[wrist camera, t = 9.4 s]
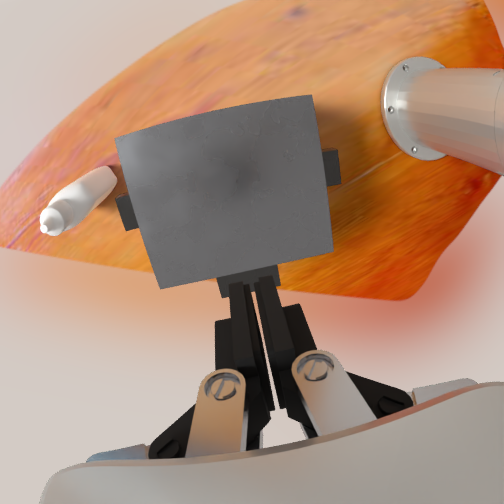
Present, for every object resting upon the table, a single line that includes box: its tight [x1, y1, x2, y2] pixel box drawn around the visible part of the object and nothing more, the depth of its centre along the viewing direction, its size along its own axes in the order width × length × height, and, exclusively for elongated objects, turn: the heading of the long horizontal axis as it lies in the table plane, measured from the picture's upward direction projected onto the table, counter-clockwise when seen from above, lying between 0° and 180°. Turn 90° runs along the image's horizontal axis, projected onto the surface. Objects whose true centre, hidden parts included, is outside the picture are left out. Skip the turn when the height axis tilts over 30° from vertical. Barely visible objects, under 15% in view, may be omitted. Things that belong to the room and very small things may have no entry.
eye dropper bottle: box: [40, 166, 117, 236], centre depth 25 cm, size 4×6×12 cm
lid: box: [114, 95, 334, 298], centre depth 24 cm, size 15×15×1 cm
